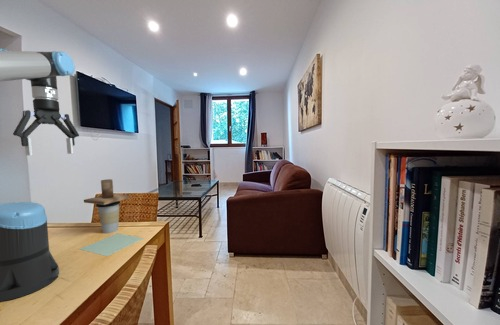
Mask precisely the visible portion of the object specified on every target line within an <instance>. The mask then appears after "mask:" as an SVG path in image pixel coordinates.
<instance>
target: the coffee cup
mask: <svg viewBox="0 0 500 325" xmlns="http://www.w3.org/2000/svg"><path fill="white" fill-rule="evenodd" d="M120 204H121V201H117V202H113V203H109V204H106V205H100V204H95V207H96V208H97V210H98V211H97V212H98V217H99V221H100V225H101V229H102V230H101V231H102V233H103V234H113V233H115V232H117V231H118V230H119V222H120Z"/></svg>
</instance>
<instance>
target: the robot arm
mask: <svg viewBox="0 0 500 325" xmlns="http://www.w3.org/2000/svg"><path fill="white" fill-rule="evenodd" d="M75 69H76V66H75V63H74V61H73V58H72V56H70V55H69V54H68V53H66V52H65V51H56V50H53V51H30V50H29V51H26V50H24V51H22V50H21V51H20V50H9V49H4V48H0V82H8V81H9V82H10V81H19V80H25V81H26V80H27V81H30V85H31V95H32V99H33V100H32V106H33V111H31V110H30V109H27V110H23V111H22V116H21V118H20V120H19V122H18V124H17V126H16V127H15V129H14V130H13V132H12V135H13V136H15V137H19V138H20V141H21V146H22V147H24V150H25V156H33V147H32V146H33V145H32V138H31V137H29V136H30V135H31V134H32V133H33V132H34V131H35V130H37V129H38V126H40V125H54V126H56V127H57V128H58V129H59V130H60V131H61V132H62V133H63V134H64V135H65V136H66V137H67V138H65V139H66V140H65V141H66V150H67V151H66V154H67V155H69V154H71V155H72V154H74V147H75V144H76V143H75V139H76V138H78V137H80V134H79V132H78V131H77V129H76V127H75V126H74V124H73V122H72V121H71V120H70V115H69V114H68V113H66V114H65V113H64V114H61V113H60V102H59V101H58V100H59V90H58V82H57V81H58V80H57V77H67V76H71V75H73V74H74V73H75V71H76V70H75ZM32 117H34V118H35V119H34V120H33V122H32V123H31V124H30V125H29V126H28V127H27V128H26V126H27V124H28V123H29V120H30V119H31V118H32ZM60 119H61V120H63V122H62V121H61V120H60ZM64 124H65V125H64ZM59 275H60V267H59V264H58V263H57V261H56V259H55V258H54V256H53V255H52V253H51V251H50V242H49V231H48V216H47V214H46V209H45V207H44V206H43V205H42V204H40V203H37V202H31V201H19V202H6V203H1V204H0V302H6V301H11V300H14V299H18V298H21V297H24V296H27V295H30V294H33V293H35V292H38V291H39V290H42V289H43V288H45V287H47V286H48V285H50V284H52V283H53V282H54V281H55V280H57V279H58V278H59Z"/></svg>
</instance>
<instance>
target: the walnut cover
mask: <svg viewBox="0 0 500 325" xmlns="http://www.w3.org/2000/svg"><path fill="white" fill-rule="evenodd" d="M100 185H101V187H100V188H101V195H99V196H95V197H91V198H85V199H83V203H84V204H93V205H96V204H100V205H106V204H109V203H113V202H117V201H120V202H121V201H123V200H124V201H125V200H128V199H131V198H132V197H131V196H132V195H130V194H121V193H114V184H113V179H111V178H110V179H109V178H108V179H101V180H100Z"/></svg>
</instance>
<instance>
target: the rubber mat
mask: <svg viewBox="0 0 500 325" xmlns="http://www.w3.org/2000/svg"><path fill="white" fill-rule="evenodd" d="M144 239H145V238H144V237H139V236H135V235H129V234H123V233H114V234H112V235H110V236H107V237H105V238H102V239H100V240H97V241H95V242H92V243H90V244H88V245H86V246H83V247H81V248H79V250H81V251H85V252H89V253H92V254H96V255H101V256H105V257H109V256H110V255H113V254H115V253H117V252H119V251H122V250H123V249H125V248H127V247H129V246H131V245H134V244H135V243H137V242H139V241H141V240H144Z"/></svg>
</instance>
